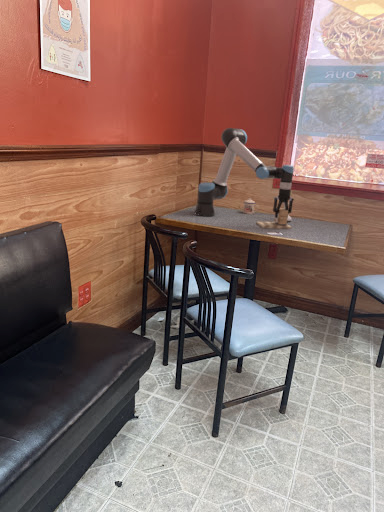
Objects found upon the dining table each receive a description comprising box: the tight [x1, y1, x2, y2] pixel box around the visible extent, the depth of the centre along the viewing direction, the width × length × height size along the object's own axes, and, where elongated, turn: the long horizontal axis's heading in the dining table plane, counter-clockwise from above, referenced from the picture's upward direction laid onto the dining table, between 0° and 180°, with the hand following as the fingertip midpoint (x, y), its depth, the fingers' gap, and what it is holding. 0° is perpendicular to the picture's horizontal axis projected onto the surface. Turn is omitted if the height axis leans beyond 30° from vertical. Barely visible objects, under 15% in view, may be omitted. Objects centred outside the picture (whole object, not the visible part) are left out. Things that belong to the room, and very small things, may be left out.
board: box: [255, 221, 292, 230], centre depth 274 cm, size 20×14×2 cm
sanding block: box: [274, 207, 289, 225], centre depth 273 cm, size 9×5×10 cm, turn 10°
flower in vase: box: [282, 189, 293, 222], centre depth 293 cm, size 13×11×25 cm
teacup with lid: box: [242, 197, 259, 215], centre depth 315 cm, size 12×9×12 cm
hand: (280, 222), depth 274 cm, fingers closed on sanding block, 5 cm apart
